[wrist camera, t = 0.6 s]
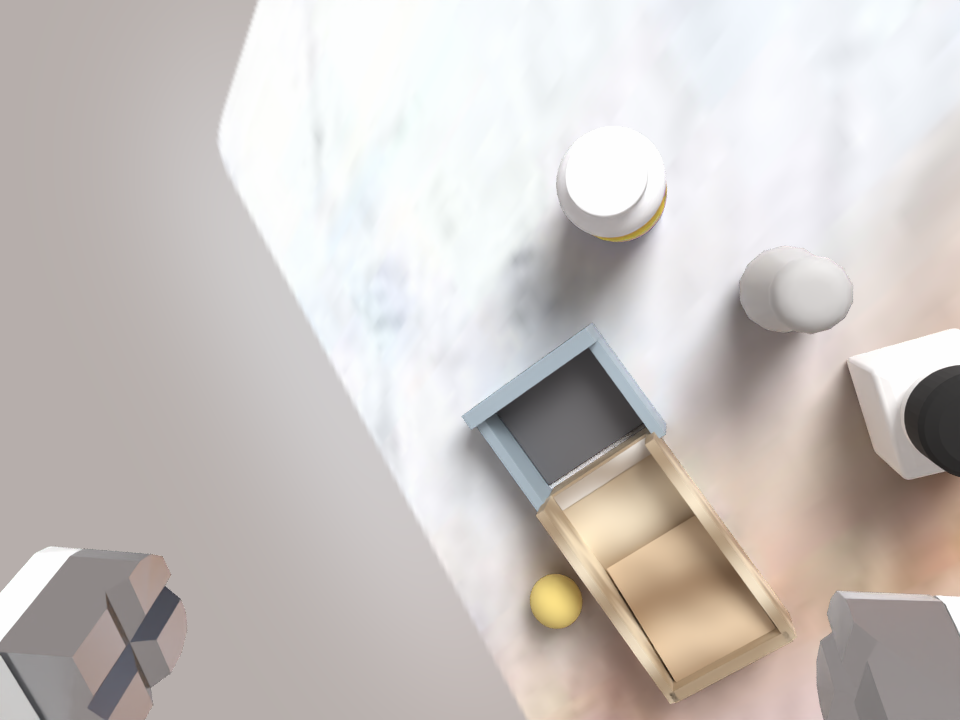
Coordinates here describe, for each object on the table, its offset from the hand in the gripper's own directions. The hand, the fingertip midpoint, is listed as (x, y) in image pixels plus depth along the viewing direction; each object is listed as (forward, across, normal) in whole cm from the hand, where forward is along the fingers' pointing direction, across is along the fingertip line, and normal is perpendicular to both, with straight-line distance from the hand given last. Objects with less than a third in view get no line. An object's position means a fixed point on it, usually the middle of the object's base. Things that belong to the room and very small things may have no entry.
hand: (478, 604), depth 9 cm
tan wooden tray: (+37, +6, -35) cm, 51 cm away
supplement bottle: (+48, +3, -11) cm, 49 cm away
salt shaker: (+44, +14, -17) cm, 49 cm away
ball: (+34, -2, -38) cm, 51 cm away
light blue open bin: (+41, -1, -26) cm, 49 cm away
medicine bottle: (+40, +23, -23) cm, 52 cm away
